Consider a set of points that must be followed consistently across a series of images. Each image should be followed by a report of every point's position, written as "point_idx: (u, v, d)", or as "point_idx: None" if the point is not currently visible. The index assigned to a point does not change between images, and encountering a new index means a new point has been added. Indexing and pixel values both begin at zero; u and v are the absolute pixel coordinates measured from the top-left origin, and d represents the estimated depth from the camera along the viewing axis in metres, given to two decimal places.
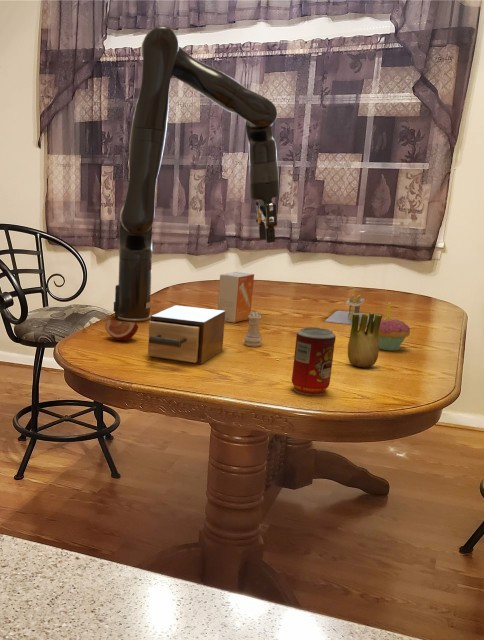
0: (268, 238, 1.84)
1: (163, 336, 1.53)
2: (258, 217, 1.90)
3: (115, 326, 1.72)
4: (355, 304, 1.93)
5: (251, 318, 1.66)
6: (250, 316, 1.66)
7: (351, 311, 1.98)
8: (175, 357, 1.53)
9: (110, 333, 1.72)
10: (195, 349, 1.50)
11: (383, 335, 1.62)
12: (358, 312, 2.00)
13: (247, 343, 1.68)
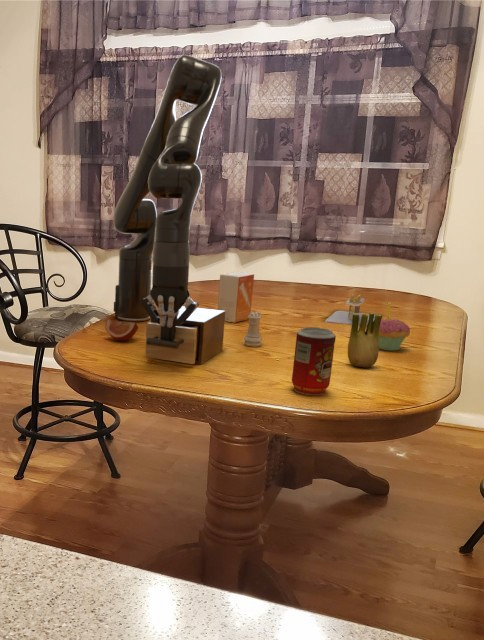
0: None
1: None
2: None
3: (115, 326, 1.72)
4: (355, 304, 1.93)
5: (251, 318, 1.66)
6: (250, 316, 1.66)
7: (351, 311, 1.98)
8: (173, 358, 1.51)
9: (110, 333, 1.72)
10: (193, 350, 1.49)
11: (383, 335, 1.62)
12: (358, 312, 2.00)
13: (247, 343, 1.68)
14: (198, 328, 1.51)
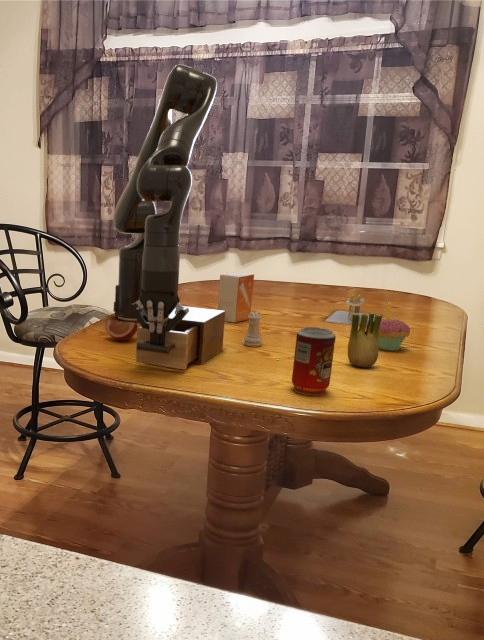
0: None
1: None
2: None
3: (115, 326, 1.72)
4: (355, 304, 1.93)
5: (251, 318, 1.66)
6: (250, 316, 1.66)
7: (351, 311, 1.98)
8: (164, 364, 1.47)
9: (110, 333, 1.72)
10: (184, 356, 1.45)
11: (383, 335, 1.62)
12: (358, 312, 2.00)
13: (247, 343, 1.68)
14: (190, 332, 1.47)
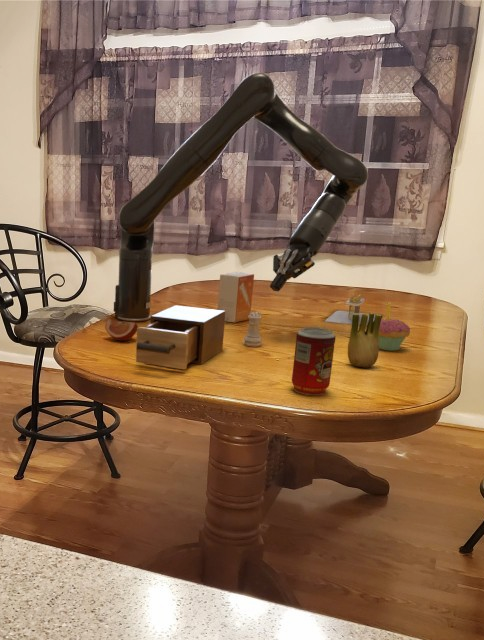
0: (277, 283, 1.67)
1: (151, 342, 1.48)
2: (285, 261, 1.68)
3: (115, 326, 1.72)
4: (355, 304, 1.93)
5: (251, 318, 1.66)
6: (250, 316, 1.66)
7: (351, 311, 1.98)
8: (164, 364, 1.47)
9: (110, 333, 1.72)
10: (184, 356, 1.45)
11: (383, 335, 1.62)
12: (358, 312, 2.00)
13: (247, 343, 1.68)
14: (190, 332, 1.47)
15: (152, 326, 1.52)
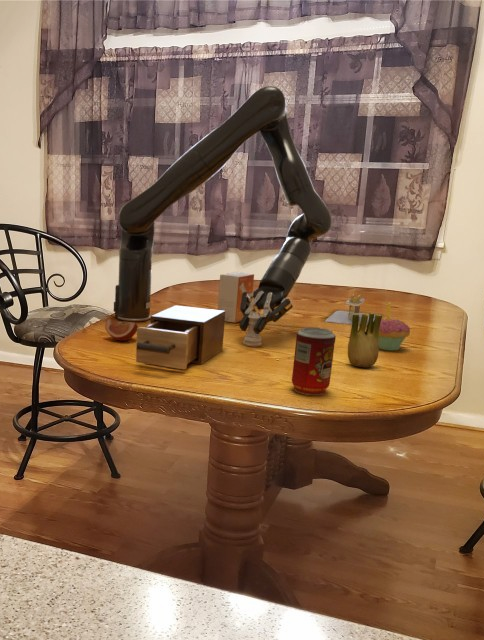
0: (259, 326, 1.64)
1: (151, 342, 1.48)
2: (255, 303, 1.68)
3: (115, 326, 1.72)
4: (355, 304, 1.93)
5: (251, 318, 1.66)
6: (250, 316, 1.66)
7: (351, 311, 1.98)
8: (164, 364, 1.47)
9: (110, 333, 1.72)
10: (184, 356, 1.45)
11: (383, 335, 1.62)
12: (358, 312, 2.00)
13: (247, 343, 1.68)
14: (190, 332, 1.47)
15: (152, 326, 1.52)
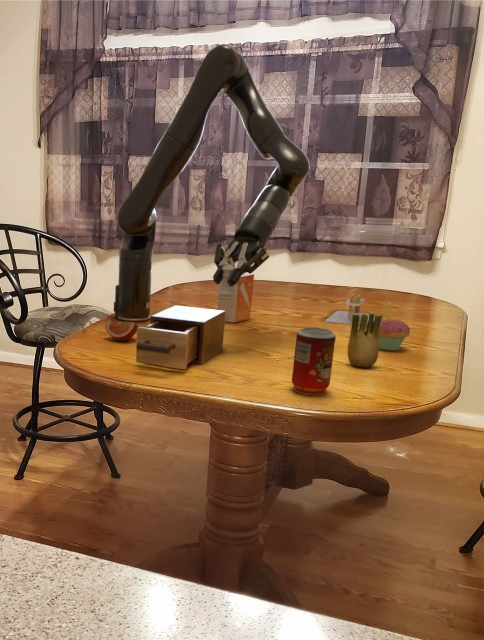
0: (233, 278, 1.55)
1: (151, 342, 1.48)
2: (230, 254, 1.58)
3: (115, 326, 1.72)
4: (355, 304, 1.93)
5: (226, 269, 1.56)
6: (224, 267, 1.56)
7: (351, 311, 1.98)
8: (164, 364, 1.47)
9: (110, 333, 1.72)
10: (184, 356, 1.45)
11: (383, 335, 1.62)
12: (358, 312, 2.00)
13: (221, 297, 1.58)
14: (190, 332, 1.47)
15: (152, 326, 1.52)
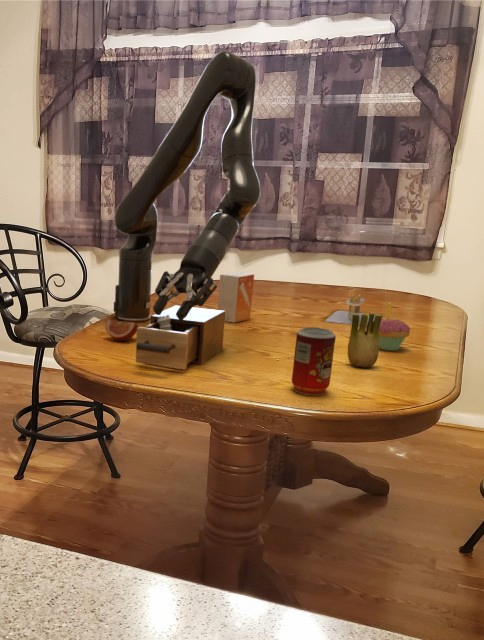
0: (182, 311, 1.46)
1: (151, 342, 1.47)
2: (172, 285, 1.51)
3: (115, 326, 1.72)
4: (355, 304, 1.93)
5: (160, 321, 1.51)
6: (158, 320, 1.52)
7: (351, 311, 1.98)
8: (164, 364, 1.47)
9: (110, 333, 1.72)
10: (184, 356, 1.44)
11: (383, 335, 1.62)
12: (358, 312, 2.00)
13: None
14: (190, 333, 1.47)
15: (152, 326, 1.52)
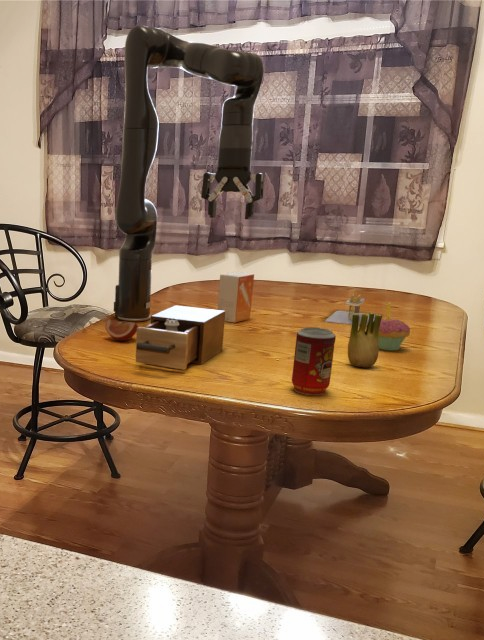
0: (250, 214, 1.60)
1: (151, 342, 1.47)
2: (219, 191, 1.62)
3: (115, 326, 1.72)
4: (355, 304, 1.93)
5: (168, 325, 1.49)
6: (166, 323, 1.50)
7: (351, 311, 1.98)
8: (164, 364, 1.47)
9: (110, 333, 1.72)
10: (184, 356, 1.44)
11: (383, 335, 1.62)
12: (358, 312, 2.00)
13: None
14: (190, 333, 1.47)
15: (152, 326, 1.52)
